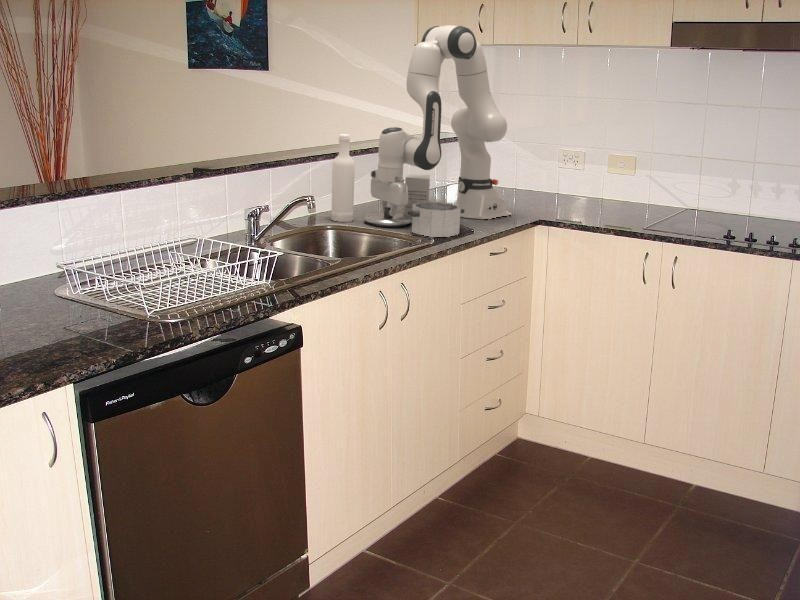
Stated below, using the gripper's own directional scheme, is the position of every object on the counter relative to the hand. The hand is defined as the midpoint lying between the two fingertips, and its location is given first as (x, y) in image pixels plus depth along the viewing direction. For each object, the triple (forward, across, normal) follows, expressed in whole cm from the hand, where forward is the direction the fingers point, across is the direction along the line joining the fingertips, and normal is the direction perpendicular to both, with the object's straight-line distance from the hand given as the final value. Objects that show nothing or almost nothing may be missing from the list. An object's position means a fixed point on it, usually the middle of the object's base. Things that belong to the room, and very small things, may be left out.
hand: (388, 214), depth 310 cm
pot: (+3, -18, -8) cm, 20 cm away
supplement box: (+3, +7, -16) cm, 18 cm away
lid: (+3, 0, 0) cm, 3 cm away
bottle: (+3, +10, +13) cm, 17 cm away
